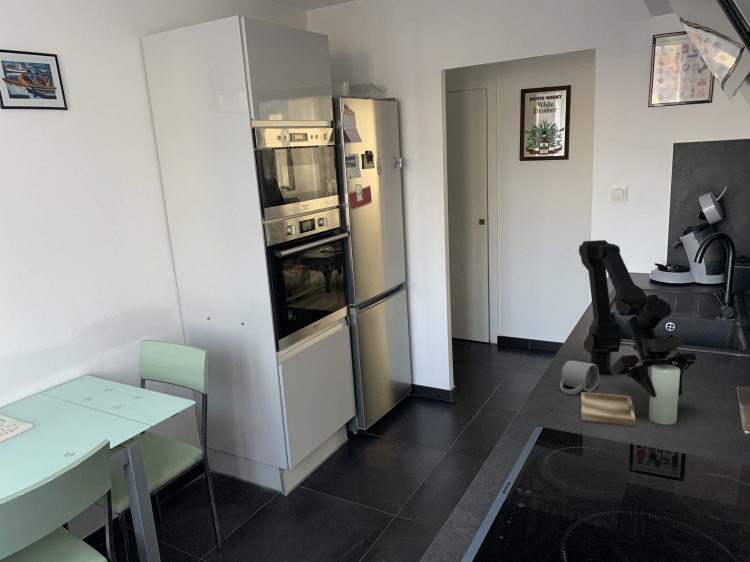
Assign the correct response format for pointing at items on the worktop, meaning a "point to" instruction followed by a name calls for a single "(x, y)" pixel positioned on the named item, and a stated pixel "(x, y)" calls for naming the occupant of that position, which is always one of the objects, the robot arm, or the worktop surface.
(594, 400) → the tray
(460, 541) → the worktop surface
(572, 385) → the ceramic mug
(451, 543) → the worktop surface
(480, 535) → the worktop surface
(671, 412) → the pillar candle
